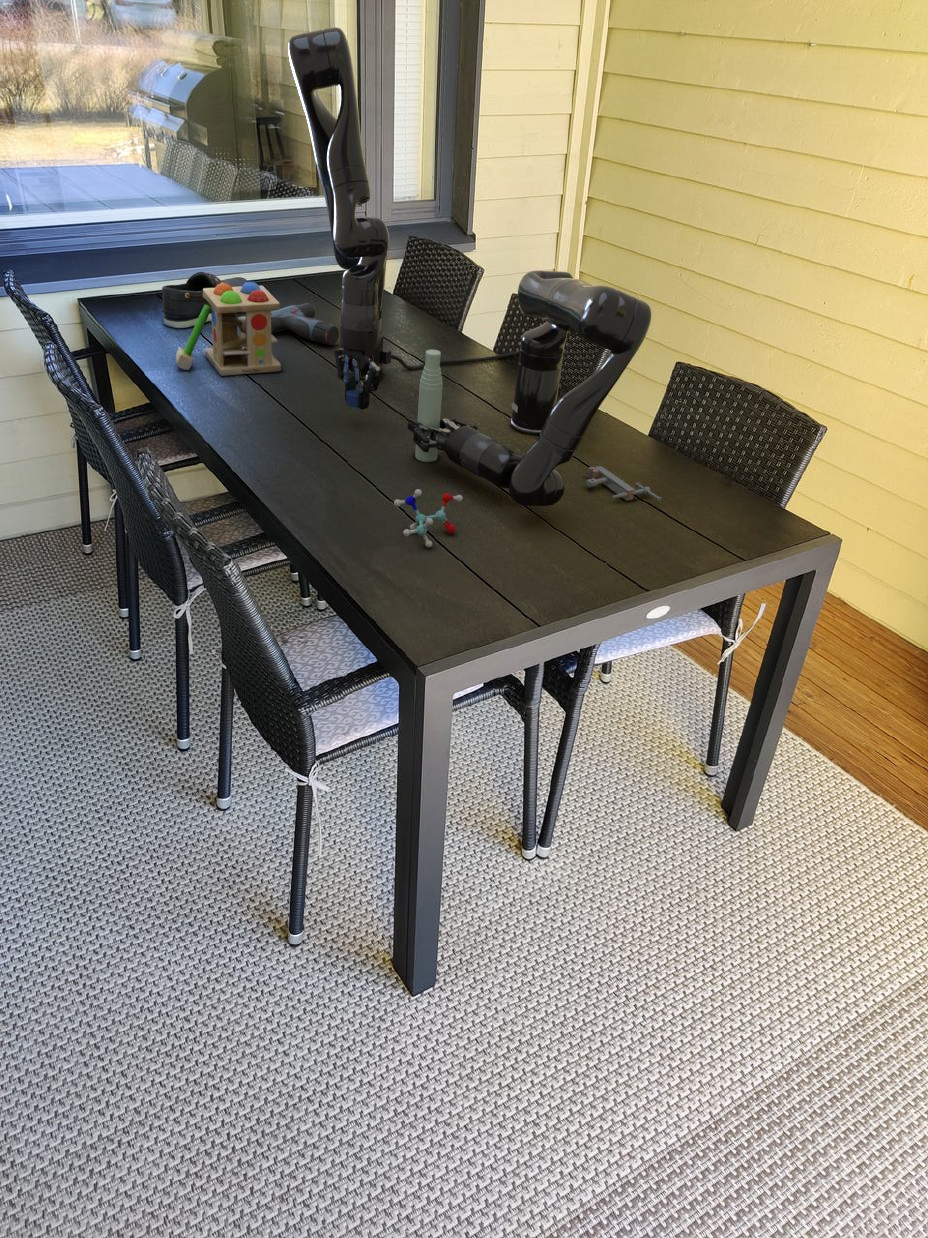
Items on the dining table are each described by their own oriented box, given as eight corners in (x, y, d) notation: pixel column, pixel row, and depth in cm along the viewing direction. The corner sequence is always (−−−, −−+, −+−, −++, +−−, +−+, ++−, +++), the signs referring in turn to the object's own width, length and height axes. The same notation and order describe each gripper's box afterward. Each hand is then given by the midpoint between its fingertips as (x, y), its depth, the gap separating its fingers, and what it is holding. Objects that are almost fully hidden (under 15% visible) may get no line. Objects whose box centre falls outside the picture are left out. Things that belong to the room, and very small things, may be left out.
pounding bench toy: (183, 379, 220) (176, 299, 210) (169, 357, 231) (162, 280, 221) (282, 371, 230) (280, 294, 220) (264, 350, 240) (262, 276, 230)
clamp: (576, 469, 194) (616, 461, 198) (574, 479, 195) (614, 471, 199) (622, 503, 183) (664, 494, 188) (620, 513, 184) (661, 504, 189)
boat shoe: (271, 306, 270) (269, 267, 265) (181, 330, 246) (177, 288, 241) (236, 297, 276) (233, 259, 271) (146, 320, 252) (141, 279, 247)
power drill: (365, 313, 253) (305, 296, 261) (318, 330, 240) (256, 311, 248) (364, 334, 256) (305, 316, 264) (318, 351, 243) (257, 332, 251)
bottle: (411, 458, 197) (417, 352, 185) (421, 450, 200) (427, 346, 188) (431, 463, 196) (439, 357, 183) (440, 455, 199) (448, 351, 187)
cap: (363, 408, 204) (363, 397, 202) (343, 406, 204) (344, 394, 203) (368, 402, 207) (368, 390, 206) (349, 399, 207) (349, 387, 206)
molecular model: (452, 541, 163) (433, 483, 162) (403, 556, 167) (383, 500, 165) (474, 530, 174) (456, 475, 172) (427, 544, 177) (409, 492, 176)
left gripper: (323, 315, 198) (322, 396, 208) (365, 336, 190) (363, 419, 199) (353, 310, 203) (351, 390, 212) (396, 330, 194) (392, 412, 204)
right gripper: (505, 426, 188) (448, 396, 198) (448, 442, 179) (391, 410, 190) (501, 461, 192) (445, 430, 202) (445, 479, 184) (390, 445, 194)
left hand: (356, 404), depth 206 cm, fingers closed on cap, 4 cm apart
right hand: (419, 420), depth 196 cm, fingers closed on bottle, 4 cm apart
